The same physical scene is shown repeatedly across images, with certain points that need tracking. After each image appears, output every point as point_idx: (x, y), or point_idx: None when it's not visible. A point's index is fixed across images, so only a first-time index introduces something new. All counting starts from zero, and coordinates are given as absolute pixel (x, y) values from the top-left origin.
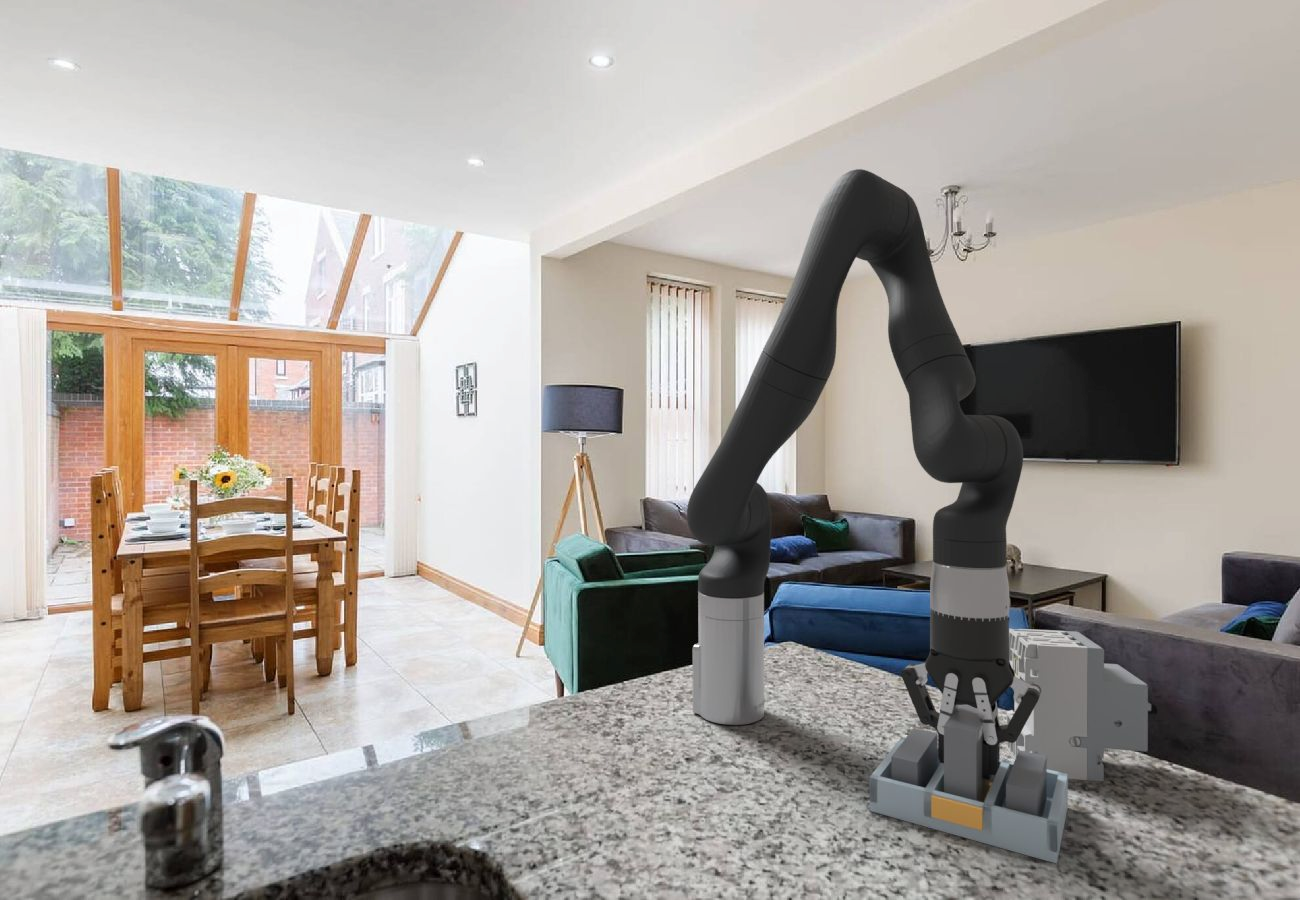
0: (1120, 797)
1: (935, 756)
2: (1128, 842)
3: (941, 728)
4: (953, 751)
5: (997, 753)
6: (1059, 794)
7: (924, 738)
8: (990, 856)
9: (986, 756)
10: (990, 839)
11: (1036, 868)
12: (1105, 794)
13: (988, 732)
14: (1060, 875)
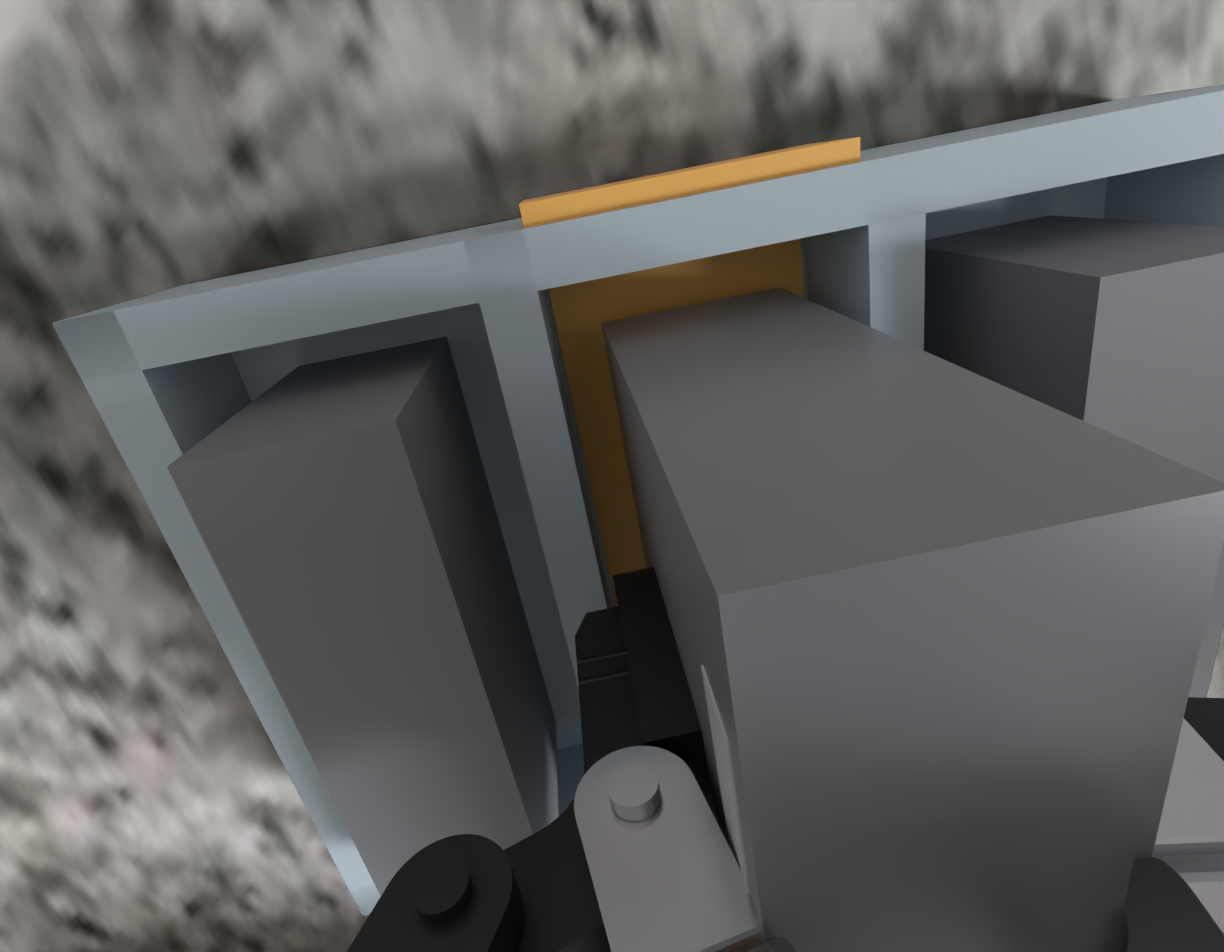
0: (300, 948)
1: None
2: (101, 685)
3: None
4: (885, 395)
5: (582, 729)
6: (274, 706)
7: None
8: (442, 101)
9: (650, 665)
10: (487, 225)
11: (225, 160)
12: (346, 935)
13: (665, 845)
14: (113, 181)
